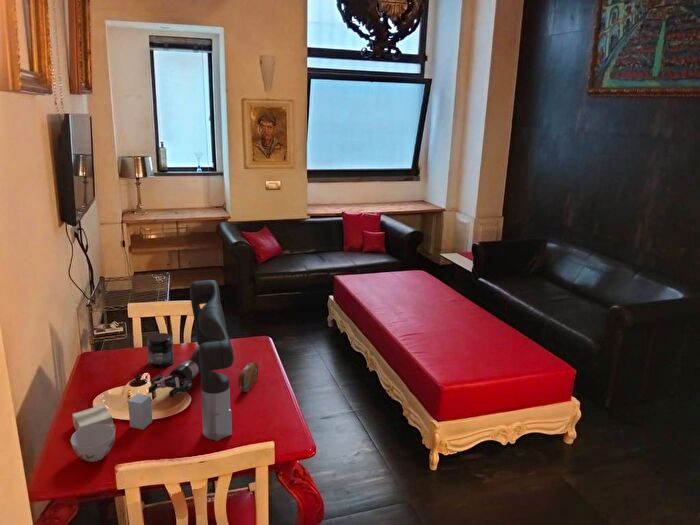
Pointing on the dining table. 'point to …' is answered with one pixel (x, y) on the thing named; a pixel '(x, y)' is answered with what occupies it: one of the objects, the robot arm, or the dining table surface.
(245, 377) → the tin
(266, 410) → the dining table surface
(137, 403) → the pale blue tall cuboid
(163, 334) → the supplement container
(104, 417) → the birch block
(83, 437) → the teacup
